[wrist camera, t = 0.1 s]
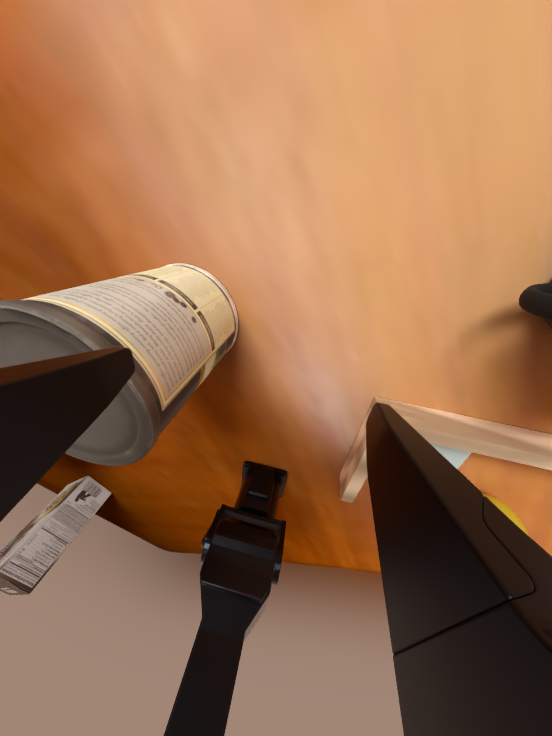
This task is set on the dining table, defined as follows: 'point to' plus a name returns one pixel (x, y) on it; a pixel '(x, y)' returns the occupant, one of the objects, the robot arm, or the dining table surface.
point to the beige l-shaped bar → (451, 441)
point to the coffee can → (138, 333)
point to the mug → (538, 301)
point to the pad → (452, 454)
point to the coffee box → (49, 535)
